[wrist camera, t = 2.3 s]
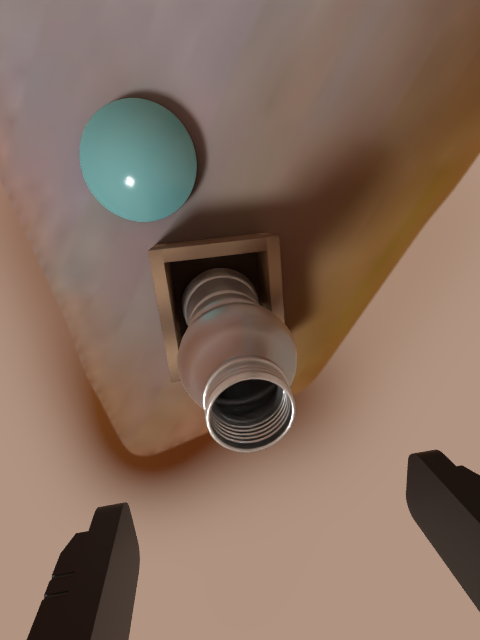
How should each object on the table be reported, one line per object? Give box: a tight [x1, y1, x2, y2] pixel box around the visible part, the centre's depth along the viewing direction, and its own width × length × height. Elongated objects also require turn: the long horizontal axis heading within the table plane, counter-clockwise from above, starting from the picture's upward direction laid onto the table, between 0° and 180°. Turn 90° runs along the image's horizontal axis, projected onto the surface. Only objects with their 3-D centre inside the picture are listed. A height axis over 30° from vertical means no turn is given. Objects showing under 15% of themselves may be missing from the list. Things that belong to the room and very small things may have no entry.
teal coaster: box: [80, 98, 197, 222], centre depth 28 cm, size 9×9×1 cm
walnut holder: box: [148, 232, 285, 382], centre depth 31 cm, size 11×10×5 cm
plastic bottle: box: [177, 268, 297, 452], centre depth 24 cm, size 6×7×20 cm
